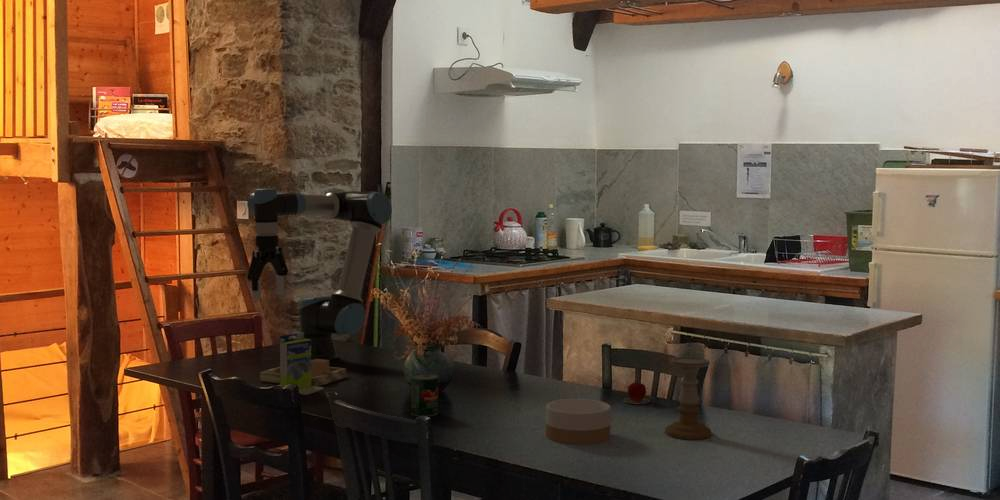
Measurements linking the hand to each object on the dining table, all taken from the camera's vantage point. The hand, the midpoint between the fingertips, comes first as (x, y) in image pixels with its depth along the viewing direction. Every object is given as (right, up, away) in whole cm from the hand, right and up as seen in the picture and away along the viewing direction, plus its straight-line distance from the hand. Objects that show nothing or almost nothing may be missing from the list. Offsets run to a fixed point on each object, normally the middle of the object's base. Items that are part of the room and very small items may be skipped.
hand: (269, 297), depth 346 cm
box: (+12, -28, -17) cm, 35 cm away
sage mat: (+12, -29, -17) cm, 36 cm away
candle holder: (+129, -34, -69) cm, 150 cm away
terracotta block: (+18, -28, -3) cm, 33 cm away
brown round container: (+99, -34, -72) cm, 127 cm away
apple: (+120, -31, -32) cm, 127 cm away
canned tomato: (+56, -32, -48) cm, 80 cm away
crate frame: (+12, -27, -1) cm, 30 cm away
